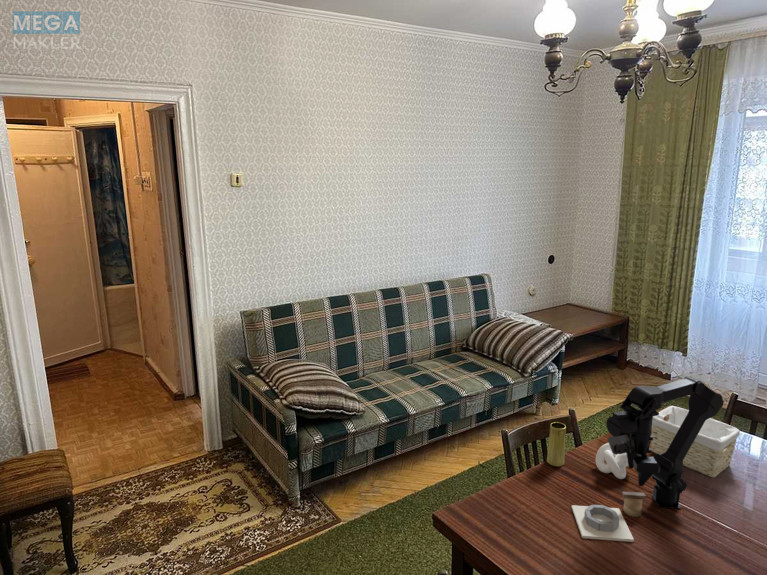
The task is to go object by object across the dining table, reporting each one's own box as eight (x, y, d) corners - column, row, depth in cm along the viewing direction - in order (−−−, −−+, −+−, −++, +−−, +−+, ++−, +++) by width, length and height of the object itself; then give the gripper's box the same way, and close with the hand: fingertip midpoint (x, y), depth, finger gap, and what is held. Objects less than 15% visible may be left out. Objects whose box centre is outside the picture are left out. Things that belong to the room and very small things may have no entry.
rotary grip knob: (640, 507, 166) (642, 489, 165) (646, 517, 161) (648, 499, 160) (618, 505, 167) (620, 488, 165) (623, 516, 162) (625, 498, 161)
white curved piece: (586, 470, 186) (588, 447, 184) (605, 458, 193) (607, 436, 191) (618, 485, 177) (620, 461, 175) (636, 472, 185) (638, 448, 183)
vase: (565, 467, 188) (568, 430, 185) (547, 465, 189) (549, 428, 186) (563, 458, 194) (566, 422, 190) (545, 456, 195) (548, 420, 192)
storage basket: (736, 466, 188) (742, 427, 184) (716, 482, 178) (722, 442, 175) (667, 439, 207) (671, 403, 203) (645, 452, 197) (649, 415, 194)
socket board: (618, 510, 165) (619, 501, 164) (633, 541, 151) (634, 532, 150) (571, 507, 166) (572, 498, 166) (582, 538, 153) (582, 528, 152)
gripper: (603, 413, 168) (599, 458, 172) (621, 444, 150) (616, 493, 154) (640, 415, 167) (636, 460, 170) (663, 446, 149) (657, 496, 152)
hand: (635, 476), depth 162 cm, fingers open, 9 cm apart
